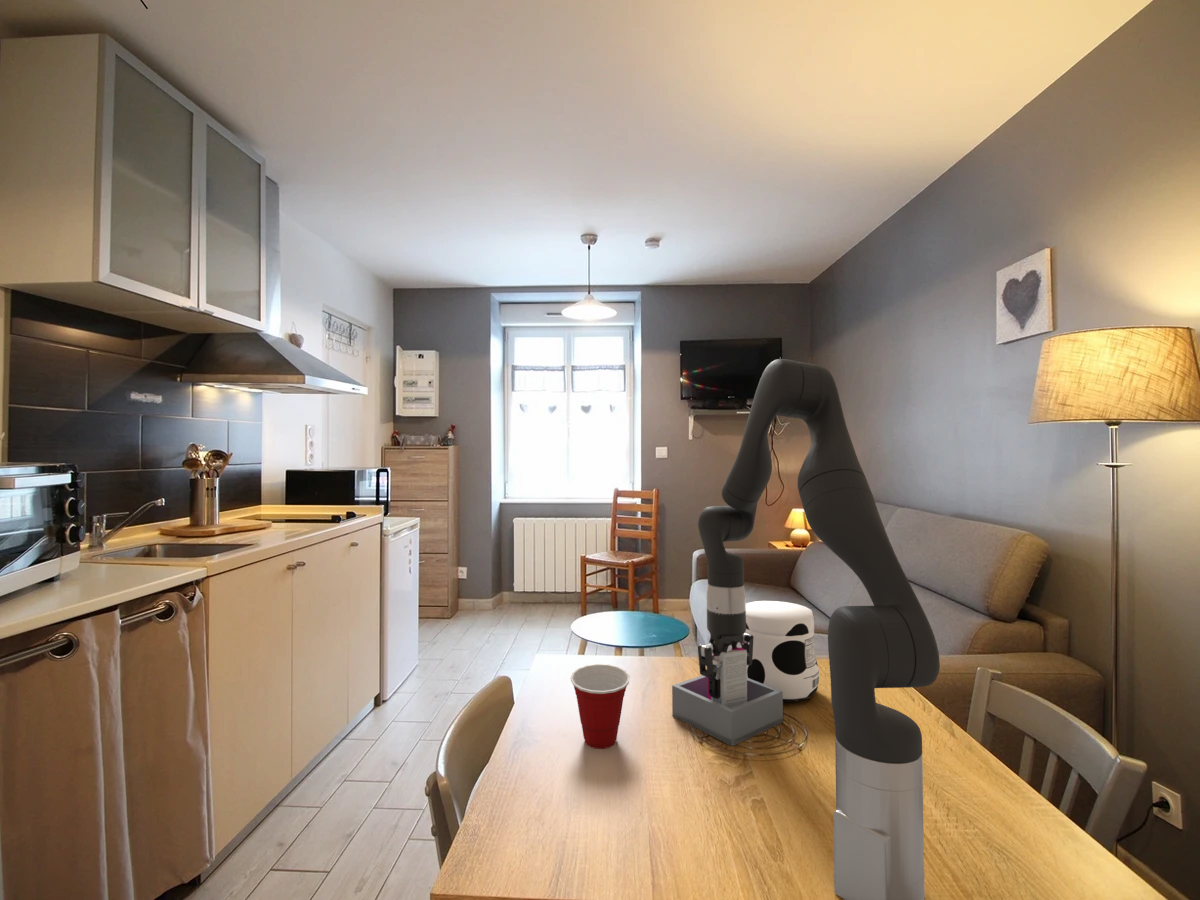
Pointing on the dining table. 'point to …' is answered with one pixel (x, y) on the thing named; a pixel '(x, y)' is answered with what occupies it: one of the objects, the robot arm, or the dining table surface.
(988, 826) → the dining table surface
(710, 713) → the box
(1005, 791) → the dining table surface
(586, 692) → the plastic cup
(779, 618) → the milk container
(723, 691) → the supplement box
